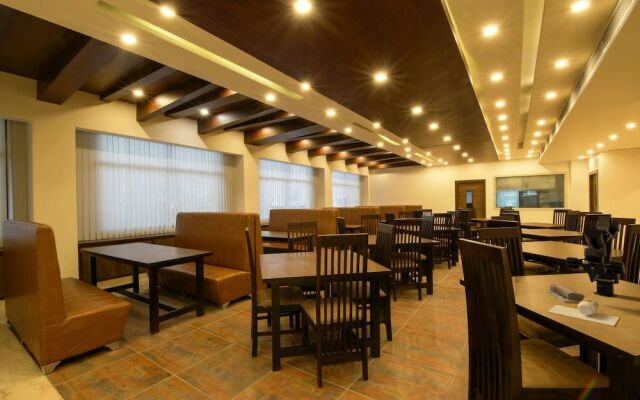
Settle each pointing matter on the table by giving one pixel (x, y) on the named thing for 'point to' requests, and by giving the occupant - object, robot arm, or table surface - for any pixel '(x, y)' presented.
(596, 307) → the supplement bottle
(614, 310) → the table surface
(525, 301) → the table surface
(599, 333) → the table surface
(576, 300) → the packaged product
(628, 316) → the table surface
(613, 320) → the rubber mat
